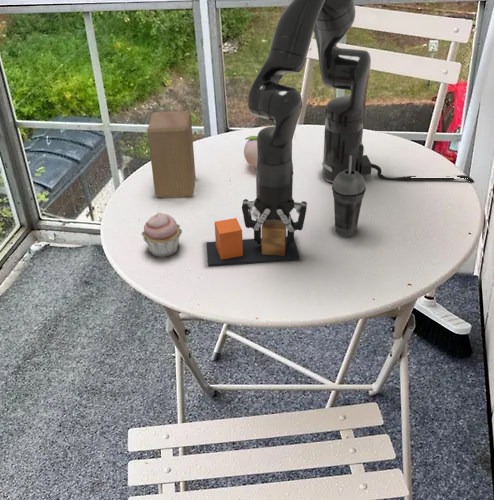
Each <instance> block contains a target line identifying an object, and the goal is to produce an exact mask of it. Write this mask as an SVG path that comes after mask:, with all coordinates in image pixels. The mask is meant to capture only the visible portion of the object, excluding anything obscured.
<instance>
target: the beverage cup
mask: <svg viewBox="0 0 494 500" xmlns="http://www.w3.org/2000/svg"><path fill="white" fill-rule="evenodd" d="M351 165H352V156H351V155H350V157H349V170H344V171H342V172H340V173H339V174H338V175H337V176H336V178H335V179H334V182H333V183H332V185H331V190H332V196H333V210H334V211H333V212H334V228H335V229H334V230H335V231H334V232H335V233H336V235H338V236H339V237H342V238H343V237H345V238H347V237H352V236H354V235H355V234H356V230H357V228H358V223H359V219H360V213H361V208H362V202H363V198H364V196H365V194H366V191H367V188H366V181H365V178H364V177H363V176H364V175H361V174H360V173H359V172H357V171H355V170H351Z"/></svg>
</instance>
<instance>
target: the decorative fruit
mask: <svg viewBox="0 0 494 500" xmlns="http://www.w3.org/2000/svg"><path fill="white" fill-rule="evenodd" d="M257 136H258V135H257ZM257 136H256V135H249V136H247V137H245V138H244V140H246V142H245V144H244V147H243V156H244V159H245V161H246V163H247V164H248V165H250V166H252V167H254V168H256V164H257Z"/></svg>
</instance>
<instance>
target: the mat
mask: <svg viewBox="0 0 494 500" xmlns="http://www.w3.org/2000/svg"><path fill="white" fill-rule="evenodd" d="M242 243H243V256H239V257H234V258H228V259H223V260H221V258H220V256H219V253H218V251H217V248H216V241H206V256H207V266H208V267H219V266H233V265H249V264H262V263H263V264H264V263H278V262H289V261H290V262H291V261H300V259H301V257H300V255H299V251H298V246H297V243H296V239H295V238H294V242H293V243H291V244H290V246H287V236H286V249H285V256H282V255H263V254H262V237H261V243H260V244H257V242H256V241H255V240H254V238H247V239H246V238H245V239H242Z"/></svg>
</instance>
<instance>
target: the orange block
mask: <svg viewBox="0 0 494 500" xmlns="http://www.w3.org/2000/svg"><path fill="white" fill-rule="evenodd" d="M214 237H215V239H214V240H215V242H216V248H217V251H218V253H219V256H220V258H221V260H223V259H228V258H234V257H239V256H243V243H242V240H243V229H242V227H241V225H240V222H239V221H238V218H237V217H234V218H227V219H222V220H215V221H214Z"/></svg>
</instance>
